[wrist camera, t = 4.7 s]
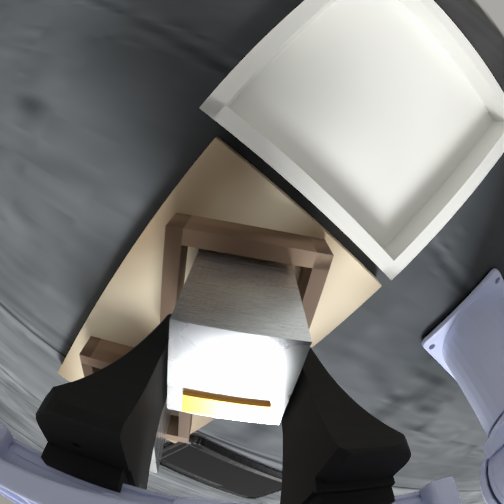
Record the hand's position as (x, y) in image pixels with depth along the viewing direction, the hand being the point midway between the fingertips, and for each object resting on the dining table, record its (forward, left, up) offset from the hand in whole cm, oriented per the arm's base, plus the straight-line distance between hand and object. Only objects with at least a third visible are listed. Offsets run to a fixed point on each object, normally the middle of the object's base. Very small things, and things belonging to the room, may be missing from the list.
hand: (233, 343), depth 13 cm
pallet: (0, +5, -5) cm, 8 cm away
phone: (-14, +19, -6) cm, 25 cm away
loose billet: (0, 0, -3) cm, 3 cm away
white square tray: (+1, -13, -5) cm, 14 cm away
